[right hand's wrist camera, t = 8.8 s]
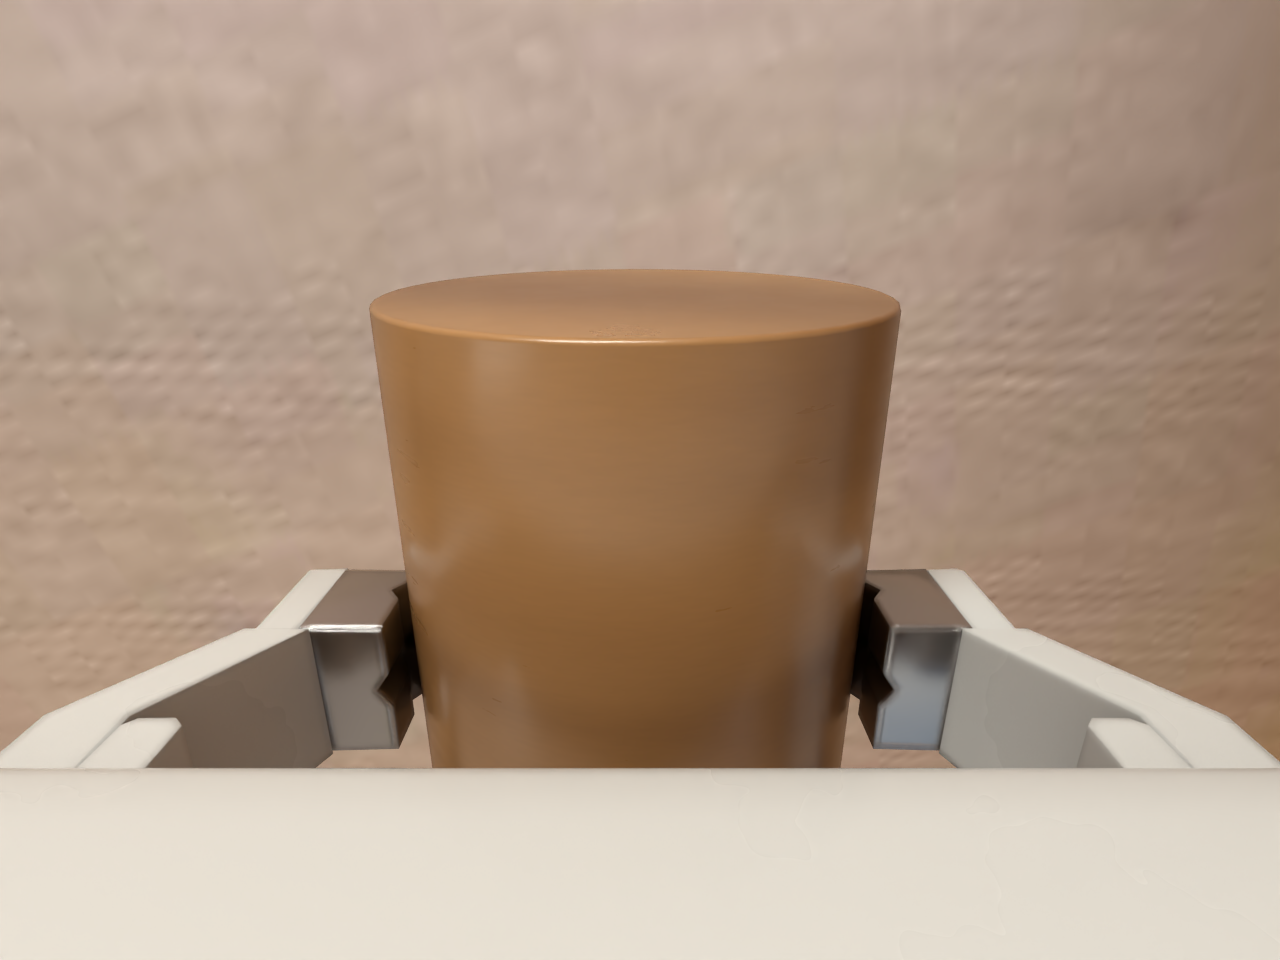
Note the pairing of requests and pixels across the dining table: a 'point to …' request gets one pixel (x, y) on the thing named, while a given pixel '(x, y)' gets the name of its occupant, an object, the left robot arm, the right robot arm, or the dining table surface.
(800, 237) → the dining table surface
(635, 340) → the cylinder
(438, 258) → the dining table surface
